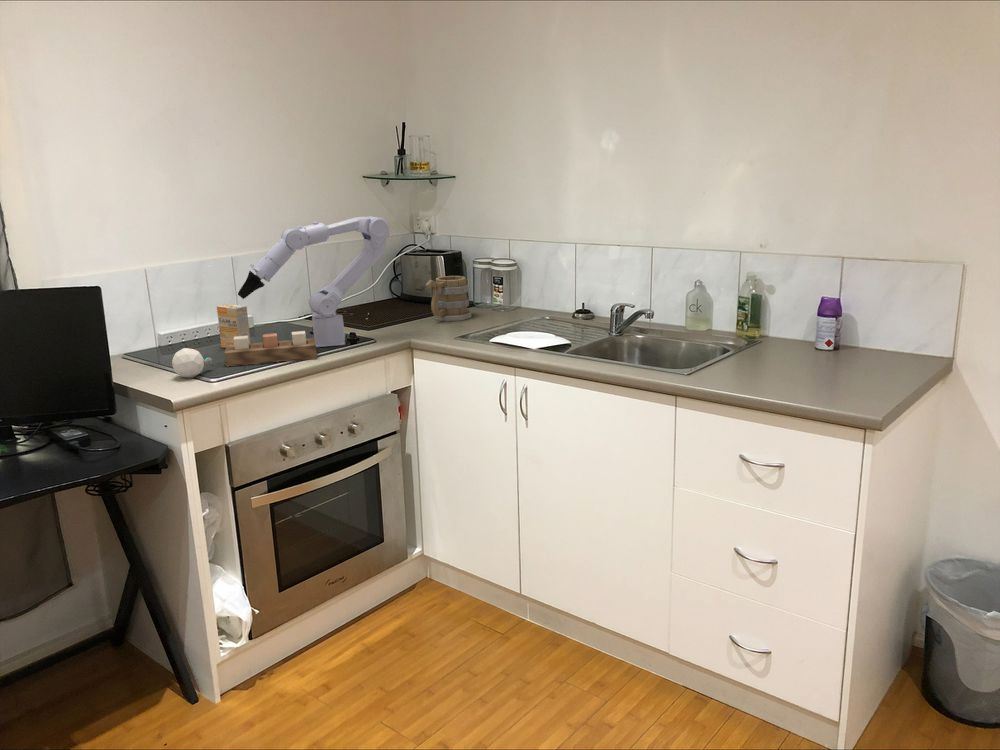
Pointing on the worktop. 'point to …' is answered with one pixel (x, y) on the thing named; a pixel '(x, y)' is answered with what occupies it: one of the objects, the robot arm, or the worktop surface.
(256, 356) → the brown wooden rack
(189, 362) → the faceted white ball
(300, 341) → the cream cap
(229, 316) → the supplement box
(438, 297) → the tankard
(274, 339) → the salmon pink cube
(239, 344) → the cream cap
